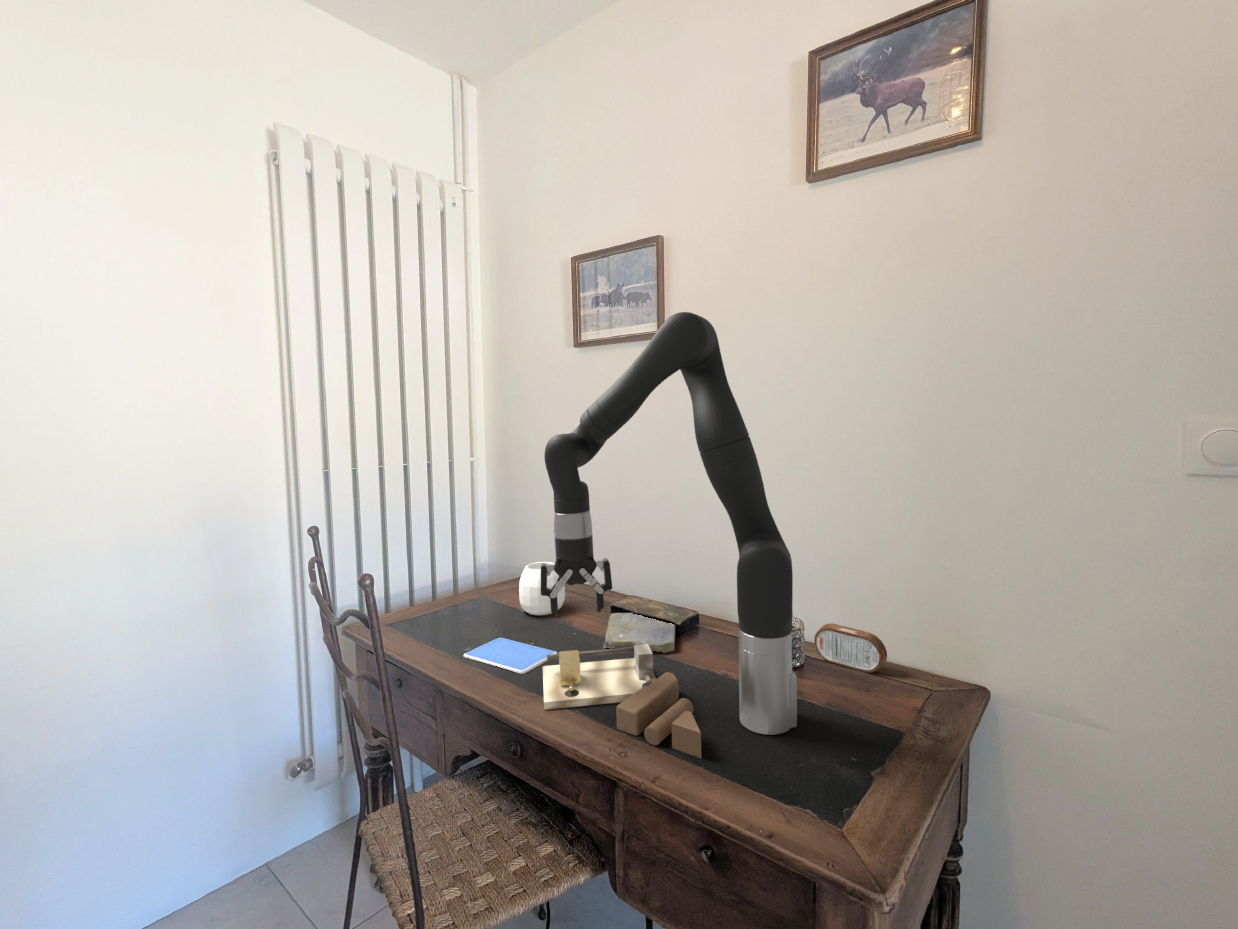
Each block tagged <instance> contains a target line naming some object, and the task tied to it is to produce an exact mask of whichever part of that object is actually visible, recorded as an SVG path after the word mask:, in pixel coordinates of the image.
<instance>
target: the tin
mask: <svg viewBox="0 0 1238 929" xmlns="http://www.w3.org/2000/svg"><path fill="white" fill-rule="evenodd" d="M814 645H815V647H814V648H815V649H816V651H817V653H818V654H819V655H820V657H822V658H823V659H824V660H825V661H826V662H830V663H831V664H835V665H839V666H842V667H846V668H849V669H853V670H856V671H859V672H863V673H874V672H877V671H878V670H880V669H881V668H882V667H883V666H884V665H885V664H886V662H887V659H888V651H887V648H886V646H885V644H884V643H883V641H882V640H881V639H880V638H879V637H878V636H876V635H875V634H873V633H872V632H870V631H865V630H861V629H858V628H853V627H848V626H844V625H841V624H837V623H826V624H824V625H822V626H821V627H820V628H819V629H818V630H817V631H816V632H815V635H814Z"/></svg>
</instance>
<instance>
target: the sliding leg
mask: <svg viewBox="0 0 1238 929" xmlns="http://www.w3.org/2000/svg"><path fill="white" fill-rule="evenodd" d="M578 652H579V649H576V650H575V649H574V650H562V651H558V654H559V659H558V660H559V661H558V662H559V663H558V665H559V667H560V682H561V686H563V685H569V690H570V691H571V692H572V691H574V686H573V685H574V684H581V679H580V663H581V659H580V657H579V653H578Z"/></svg>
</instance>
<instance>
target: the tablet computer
mask: <svg viewBox="0 0 1238 929" xmlns="http://www.w3.org/2000/svg"><path fill="white" fill-rule="evenodd" d="M548 654H558V652H557V651H555V650H552V649H548V648H544V647H540V646H535V645H531V644H528V643H525V642H519V641H515V640H512V639H507V638H504V637H498V638H495V639H493V640H491V641H489V642H486V643H484V644H482V645H480V646H478V647H475V648H474V649H471V650H469V651H467V652H465V653H464V654H463V658H466V659H468V658H469V660H473V661H477V662H480V663H483V664H487V665H490V666H493V667H496V666H497V667H496V668H501V669H504V670H508V671H510V672H514V673H516V674H520V675H524V674H526V673H529V672H530V671H532V670H534V669H535V668H538V667H539V666H541V665H543V664H544V663H545V662H548V661H550V660H551V659H547V655H548Z"/></svg>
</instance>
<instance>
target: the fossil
mask: <svg viewBox="0 0 1238 929" xmlns="http://www.w3.org/2000/svg"><path fill="white" fill-rule="evenodd" d="M633 613H634V612H614V613H613V612H612V613H610V616H609V618H608V623H607V626H606V627H607V628H606V632H605V638H604V641H605V642H604V643H603V649H604V648H629V647H634V645H642V644H648V645H649V647H650V649H651V651H652V652H653V651H656V652H655V653H659V652H662V654H666V653H667V654H668V653H671V652H674V651H675V639H676V624H675V625H674V624H672V623H666V622H663V621H659V620H656V619H653V618H652V619H651V618H648V617H644V616H642V615H637V614H633ZM667 613H668V614H670V615H674V614H673V613H670V612H667Z"/></svg>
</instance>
